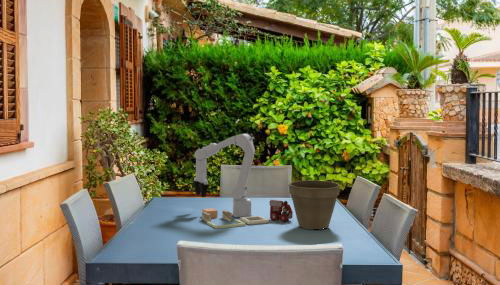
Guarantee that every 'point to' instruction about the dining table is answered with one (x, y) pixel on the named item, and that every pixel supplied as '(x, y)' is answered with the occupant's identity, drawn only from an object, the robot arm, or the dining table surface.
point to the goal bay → (227, 225)
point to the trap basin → (254, 220)
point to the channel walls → (225, 215)
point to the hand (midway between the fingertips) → (200, 195)
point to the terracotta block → (211, 212)
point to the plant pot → (314, 202)
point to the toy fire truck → (280, 210)
